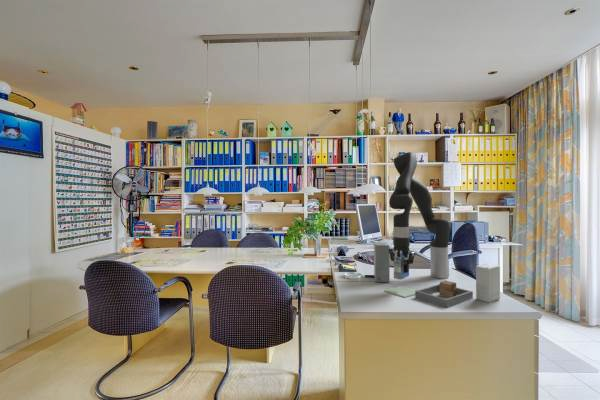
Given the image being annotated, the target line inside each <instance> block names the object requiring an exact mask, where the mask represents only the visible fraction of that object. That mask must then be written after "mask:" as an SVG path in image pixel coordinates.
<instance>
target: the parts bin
mask: <svg viewBox="0 0 600 400" xmlns="http://www.w3.org/2000/svg"><path fill="white" fill-rule="evenodd" d="M435 293H440V283H439V284H434V285H432V286H429V287H424V288H421V289H417V290H416V291H415V295H414V296H415V299H419V300H422V301H426V302H429V303H432V304H434V305H438V306H441V307H444V308H450V307H453V306H456V305H458V304H461V303H464V302H466V301H469V300H471V299H473V298H474V296H473V294H474V292H473V290H469V289H464V288H460V287H457V286H456V296H454V297H451V298H449V297H447V298H443V297H440V296H437V295H434V294H435Z"/></svg>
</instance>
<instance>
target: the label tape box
mask: <svg viewBox="0 0 600 400" xmlns="http://www.w3.org/2000/svg"><path fill="white" fill-rule="evenodd" d="M400 255H401V258H400V259H398V260H396V261H393V279H396V280H403V279H405V278H408V277H409V276H410V270H409V271H408V273H404V260H403V253H400ZM408 257H409V254H408ZM405 258H406V257H405Z"/></svg>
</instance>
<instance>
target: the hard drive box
mask: <svg viewBox="0 0 600 400" xmlns="http://www.w3.org/2000/svg"><path fill="white" fill-rule="evenodd" d="M389 249H390V245H389V243H388V242H387V241H374V242H373V271H374V272H373V273H374V275H373V277H374V282H375V283H390V253H389Z"/></svg>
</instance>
